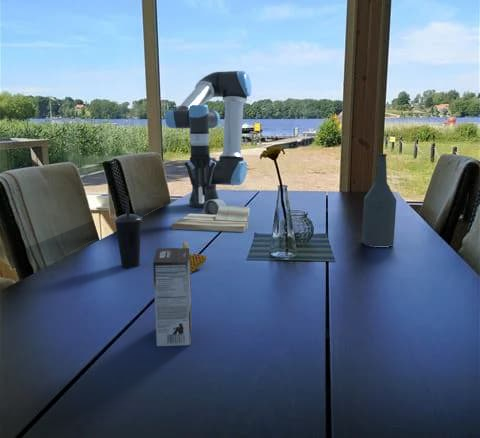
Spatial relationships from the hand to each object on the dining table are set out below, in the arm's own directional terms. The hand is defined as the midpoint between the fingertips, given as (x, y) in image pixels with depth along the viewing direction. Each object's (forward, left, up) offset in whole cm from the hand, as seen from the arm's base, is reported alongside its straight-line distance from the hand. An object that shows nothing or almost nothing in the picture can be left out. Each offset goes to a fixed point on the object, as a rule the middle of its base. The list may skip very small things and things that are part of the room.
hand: (201, 202), depth 185 cm
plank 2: (+1, +13, -5) cm, 14 cm away
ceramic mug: (-13, +1, -8) cm, 15 cm away
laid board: (+10, +6, -8) cm, 14 cm away
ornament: (+58, +13, -8) cm, 60 cm away
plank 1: (+1, 0, -8) cm, 8 cm away
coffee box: (+100, +23, -8) cm, 103 cm away
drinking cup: (+61, -4, -8) cm, 61 cm away
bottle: (+24, +67, -8) cm, 72 cm away
